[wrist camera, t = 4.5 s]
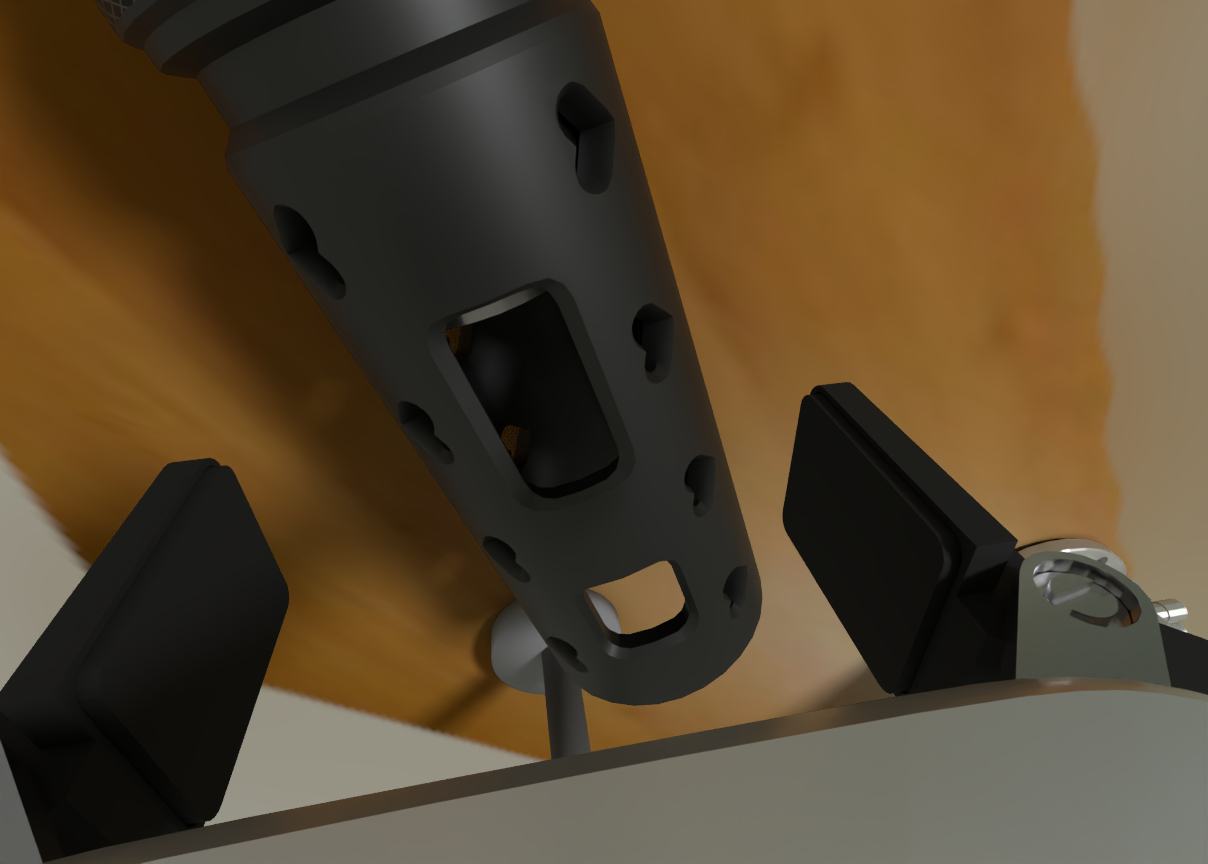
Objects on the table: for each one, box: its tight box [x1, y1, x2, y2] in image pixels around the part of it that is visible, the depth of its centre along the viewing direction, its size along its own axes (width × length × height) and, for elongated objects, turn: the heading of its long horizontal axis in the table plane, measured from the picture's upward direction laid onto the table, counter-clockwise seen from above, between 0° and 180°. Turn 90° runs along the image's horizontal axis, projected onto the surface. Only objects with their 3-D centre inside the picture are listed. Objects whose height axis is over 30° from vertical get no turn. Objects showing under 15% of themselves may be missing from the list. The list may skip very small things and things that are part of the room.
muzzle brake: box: [94, 0, 762, 706], centre depth 18 cm, size 10×28×10 cm, turn 19°
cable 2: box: [491, 589, 622, 759], centre depth 27 cm, size 7×7×16 cm
